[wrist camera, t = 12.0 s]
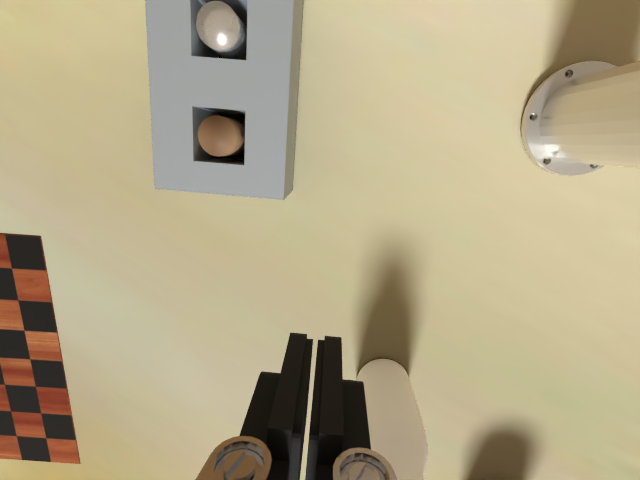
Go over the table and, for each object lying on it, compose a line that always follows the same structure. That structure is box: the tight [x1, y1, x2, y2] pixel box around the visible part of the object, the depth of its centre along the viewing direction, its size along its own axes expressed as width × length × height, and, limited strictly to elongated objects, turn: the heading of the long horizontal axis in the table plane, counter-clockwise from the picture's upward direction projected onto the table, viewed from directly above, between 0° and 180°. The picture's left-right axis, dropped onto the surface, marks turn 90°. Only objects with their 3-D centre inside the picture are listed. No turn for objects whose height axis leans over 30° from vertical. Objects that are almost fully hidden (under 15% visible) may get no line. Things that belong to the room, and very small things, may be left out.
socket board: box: [145, 0, 304, 200], centre depth 38 cm, size 14×22×8 cm, turn 175°
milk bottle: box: [357, 359, 428, 480], centre depth 42 cm, size 8×8×20 cm
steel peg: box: [196, 1, 247, 60], centre depth 36 cm, size 4×4×8 cm
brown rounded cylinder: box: [198, 115, 245, 156], centre depth 39 cm, size 4×4×8 cm
